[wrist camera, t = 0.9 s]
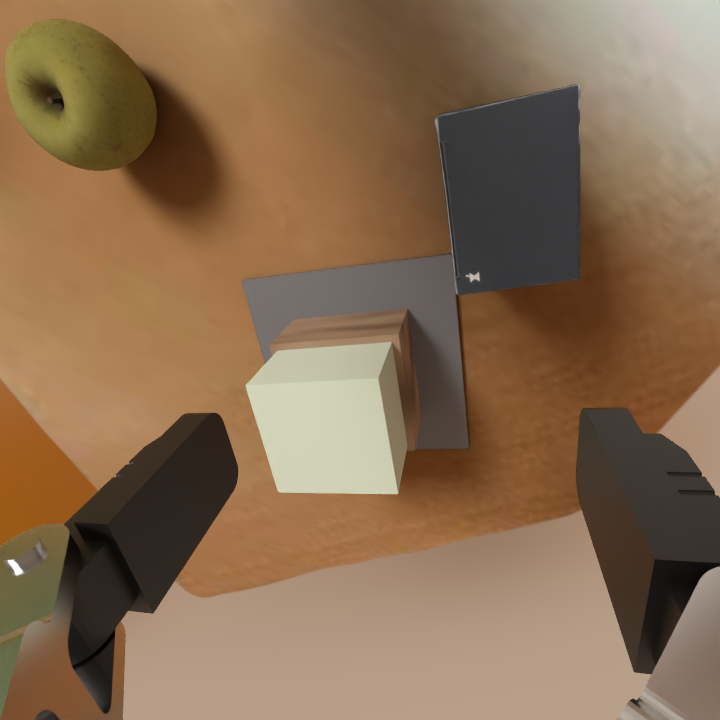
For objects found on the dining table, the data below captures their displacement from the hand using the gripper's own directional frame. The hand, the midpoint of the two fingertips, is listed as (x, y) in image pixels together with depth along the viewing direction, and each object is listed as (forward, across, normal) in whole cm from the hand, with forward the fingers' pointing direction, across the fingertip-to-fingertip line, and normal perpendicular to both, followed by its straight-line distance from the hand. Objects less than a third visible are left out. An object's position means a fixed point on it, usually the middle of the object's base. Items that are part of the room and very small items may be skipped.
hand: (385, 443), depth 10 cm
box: (+23, -4, -3) cm, 24 cm away
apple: (+24, +20, -11) cm, 33 cm away
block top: (+18, +7, +9) cm, 21 cm away
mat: (+23, +7, +9) cm, 26 cm away
